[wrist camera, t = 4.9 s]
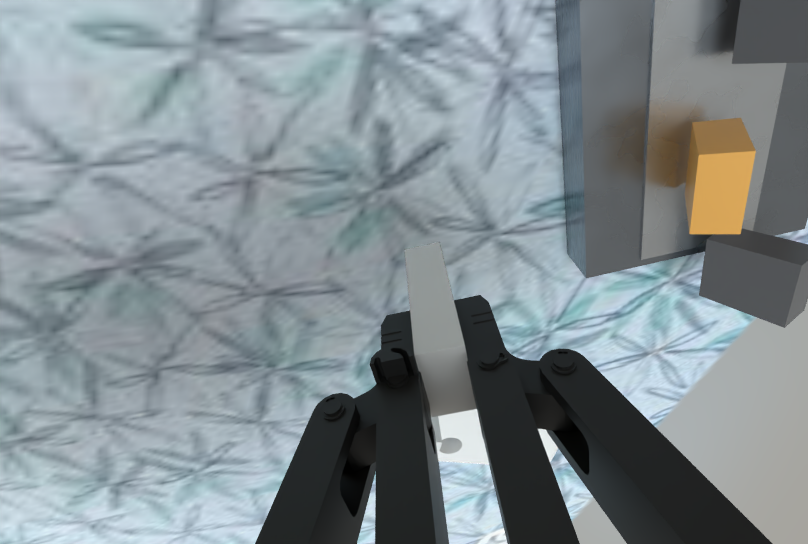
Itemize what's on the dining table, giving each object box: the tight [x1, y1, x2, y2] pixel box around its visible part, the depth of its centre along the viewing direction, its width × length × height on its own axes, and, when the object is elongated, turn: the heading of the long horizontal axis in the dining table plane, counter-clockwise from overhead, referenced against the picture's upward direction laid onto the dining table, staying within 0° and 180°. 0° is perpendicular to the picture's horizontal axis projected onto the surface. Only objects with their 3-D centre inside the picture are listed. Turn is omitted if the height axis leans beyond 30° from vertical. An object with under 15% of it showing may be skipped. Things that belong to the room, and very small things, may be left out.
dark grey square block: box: [699, 228, 808, 328], centre depth 22 cm, size 2×4×4 cm, turn 14°
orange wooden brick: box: [685, 118, 756, 234], centre depth 19 cm, size 2×4×4 cm, turn 13°
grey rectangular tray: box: [556, 0, 808, 278], centre depth 21 cm, size 12×20×3 cm, turn 13°
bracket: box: [431, 409, 558, 465], centre depth 31 cm, size 13×7×8 cm, turn 79°
